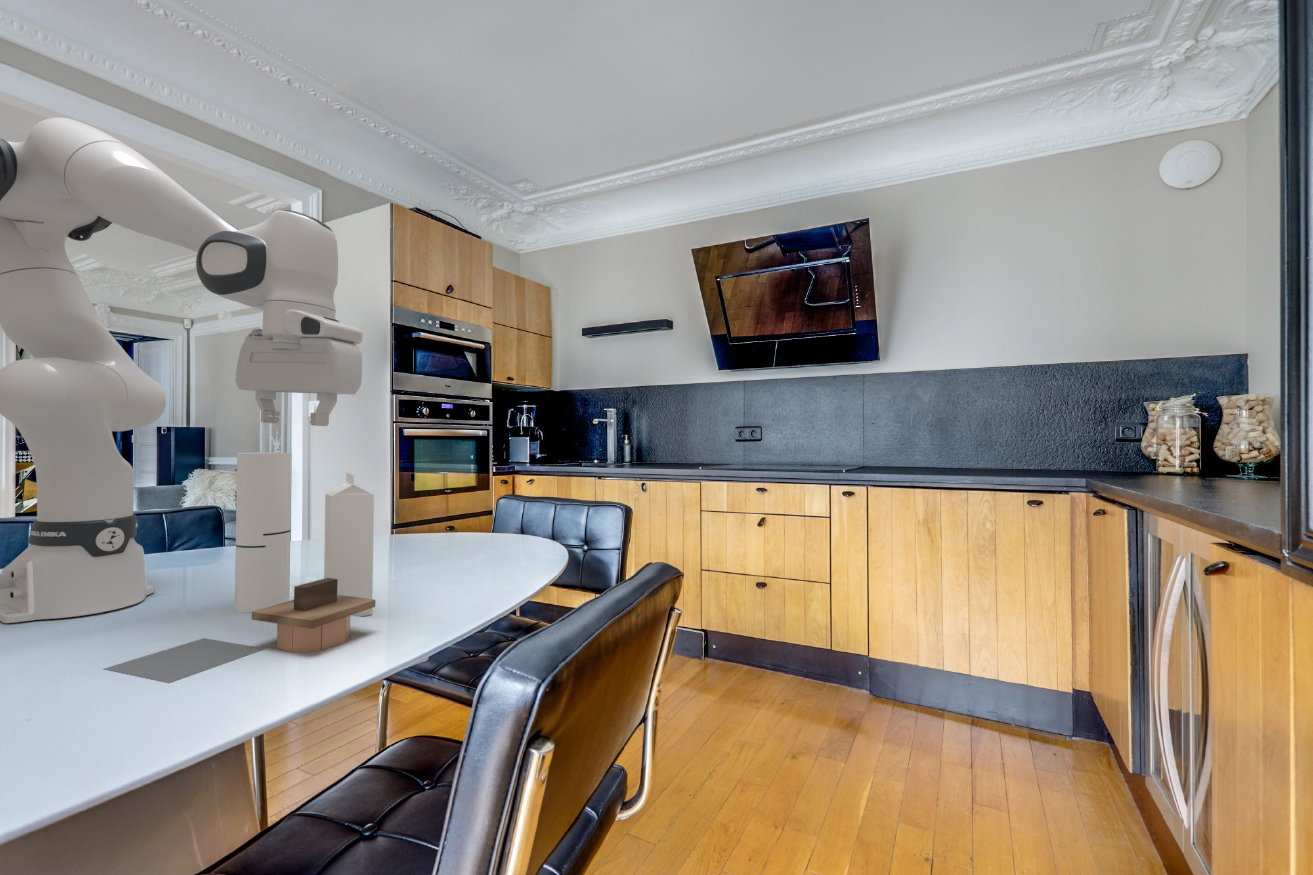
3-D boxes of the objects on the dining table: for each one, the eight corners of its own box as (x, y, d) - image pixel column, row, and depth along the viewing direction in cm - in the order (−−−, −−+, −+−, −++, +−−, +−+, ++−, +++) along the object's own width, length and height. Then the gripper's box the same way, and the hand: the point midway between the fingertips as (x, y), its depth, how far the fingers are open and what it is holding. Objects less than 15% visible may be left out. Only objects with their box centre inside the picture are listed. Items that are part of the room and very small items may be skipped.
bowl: (266, 652, 75) (266, 616, 75) (324, 634, 82) (324, 602, 82) (303, 663, 72) (303, 626, 72) (360, 644, 79) (361, 610, 79)
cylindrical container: (295, 611, 92) (297, 453, 92) (240, 621, 87) (243, 454, 87) (281, 602, 97) (284, 452, 97) (229, 611, 92) (232, 452, 92)
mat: (102, 677, 67) (102, 668, 67) (203, 645, 77) (204, 637, 77) (168, 692, 63) (169, 682, 63) (265, 656, 74) (265, 648, 74)
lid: (251, 619, 74) (252, 588, 74) (319, 599, 84) (319, 571, 84) (311, 628, 71) (312, 595, 71) (375, 606, 80) (375, 577, 80)
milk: (329, 622, 88) (330, 475, 88) (323, 612, 93) (324, 472, 92) (373, 615, 91) (374, 474, 91) (365, 605, 96) (366, 471, 96)
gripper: (225, 324, 84) (220, 420, 84) (335, 322, 78) (329, 426, 78) (267, 333, 90) (262, 422, 90) (372, 331, 84) (366, 428, 84)
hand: (294, 424), depth 84 cm, fingers open, 8 cm apart
